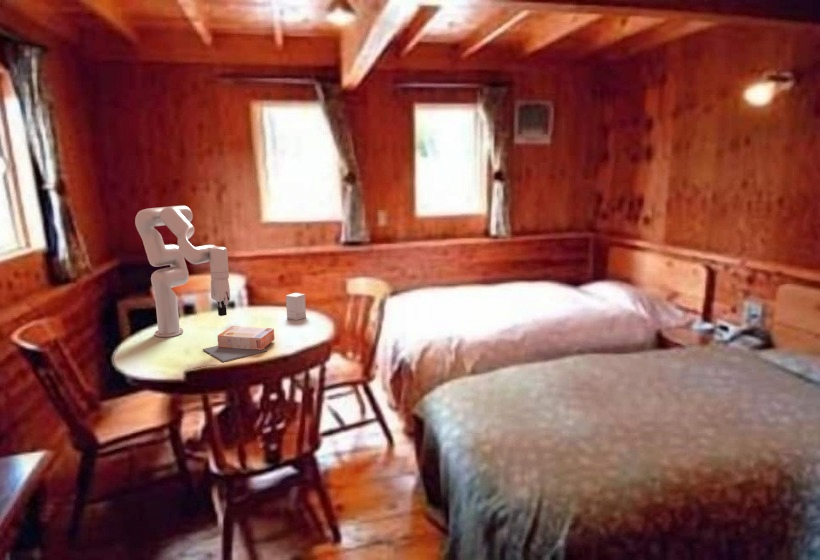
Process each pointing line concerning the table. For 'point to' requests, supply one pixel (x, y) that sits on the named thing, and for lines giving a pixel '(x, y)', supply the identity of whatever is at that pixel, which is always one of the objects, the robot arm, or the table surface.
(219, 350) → the mat
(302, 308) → the supplement box
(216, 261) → the robot arm
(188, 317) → the table surface
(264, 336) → the cracker box
